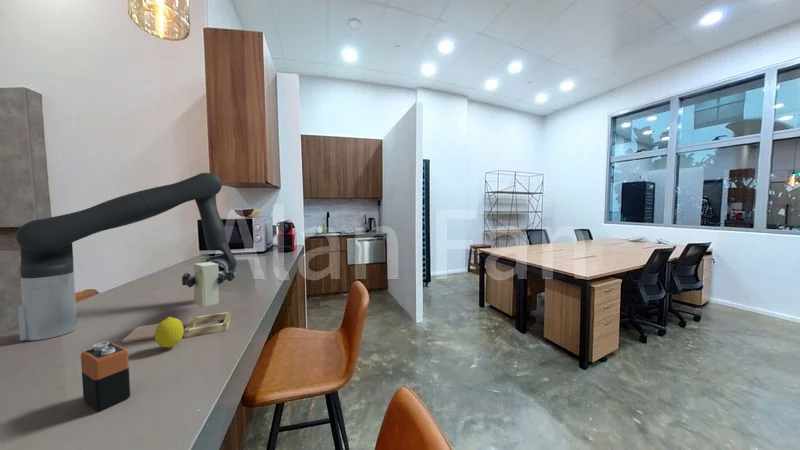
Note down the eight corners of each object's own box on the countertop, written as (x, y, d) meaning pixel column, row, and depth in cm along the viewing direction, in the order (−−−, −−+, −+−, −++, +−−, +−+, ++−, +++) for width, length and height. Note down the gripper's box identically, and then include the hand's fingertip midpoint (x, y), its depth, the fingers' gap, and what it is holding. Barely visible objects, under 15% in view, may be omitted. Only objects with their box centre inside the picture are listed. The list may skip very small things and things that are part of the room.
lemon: (167, 354, 64) (166, 322, 64) (149, 352, 66) (148, 320, 65) (190, 343, 70) (188, 313, 70) (172, 342, 71) (171, 312, 71)
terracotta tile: (122, 342, 71) (121, 340, 71) (137, 328, 80) (137, 326, 80) (170, 334, 76) (170, 332, 76) (180, 322, 84) (179, 320, 84)
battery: (116, 387, 52) (113, 337, 52) (131, 397, 49) (128, 344, 49) (82, 401, 48) (79, 347, 48) (97, 413, 45) (93, 355, 45)
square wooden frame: (183, 337, 73) (183, 330, 73) (193, 323, 83) (192, 317, 83) (227, 330, 78) (226, 323, 78) (231, 317, 88) (230, 311, 88)
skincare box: (194, 303, 80) (192, 263, 79) (211, 299, 84) (209, 261, 83) (202, 307, 76) (201, 265, 76) (220, 303, 80) (218, 263, 80)
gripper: (188, 262, 89) (173, 271, 74) (238, 259, 96) (233, 267, 81) (188, 284, 89) (173, 298, 75) (238, 280, 96) (234, 291, 81)
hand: (205, 282), depth 78 cm, fingers closed on skincare box, 6 cm apart
